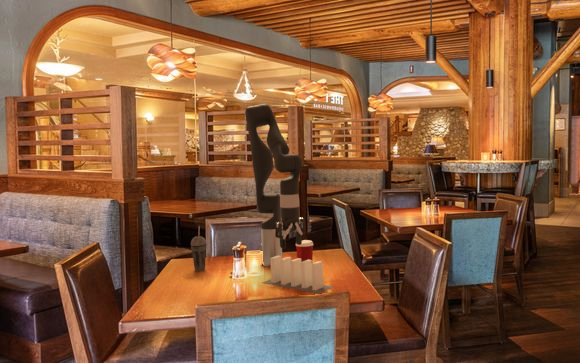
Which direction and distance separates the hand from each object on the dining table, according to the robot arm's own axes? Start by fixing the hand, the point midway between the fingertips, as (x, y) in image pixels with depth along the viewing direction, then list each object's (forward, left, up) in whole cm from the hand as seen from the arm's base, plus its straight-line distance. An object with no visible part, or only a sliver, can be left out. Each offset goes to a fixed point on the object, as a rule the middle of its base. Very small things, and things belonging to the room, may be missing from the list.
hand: (291, 246), depth 201 cm
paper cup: (-6, +17, -16) cm, 24 cm away
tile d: (+7, 0, -15) cm, 17 cm away
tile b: (-3, 0, -15) cm, 15 cm away
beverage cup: (-52, -1, -16) cm, 54 cm away
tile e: (+12, 0, -15) cm, 19 cm away
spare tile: (+2, 0, -15) cm, 15 cm away
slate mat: (+2, 0, -16) cm, 16 cm away
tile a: (-8, 0, -15) cm, 17 cm away
